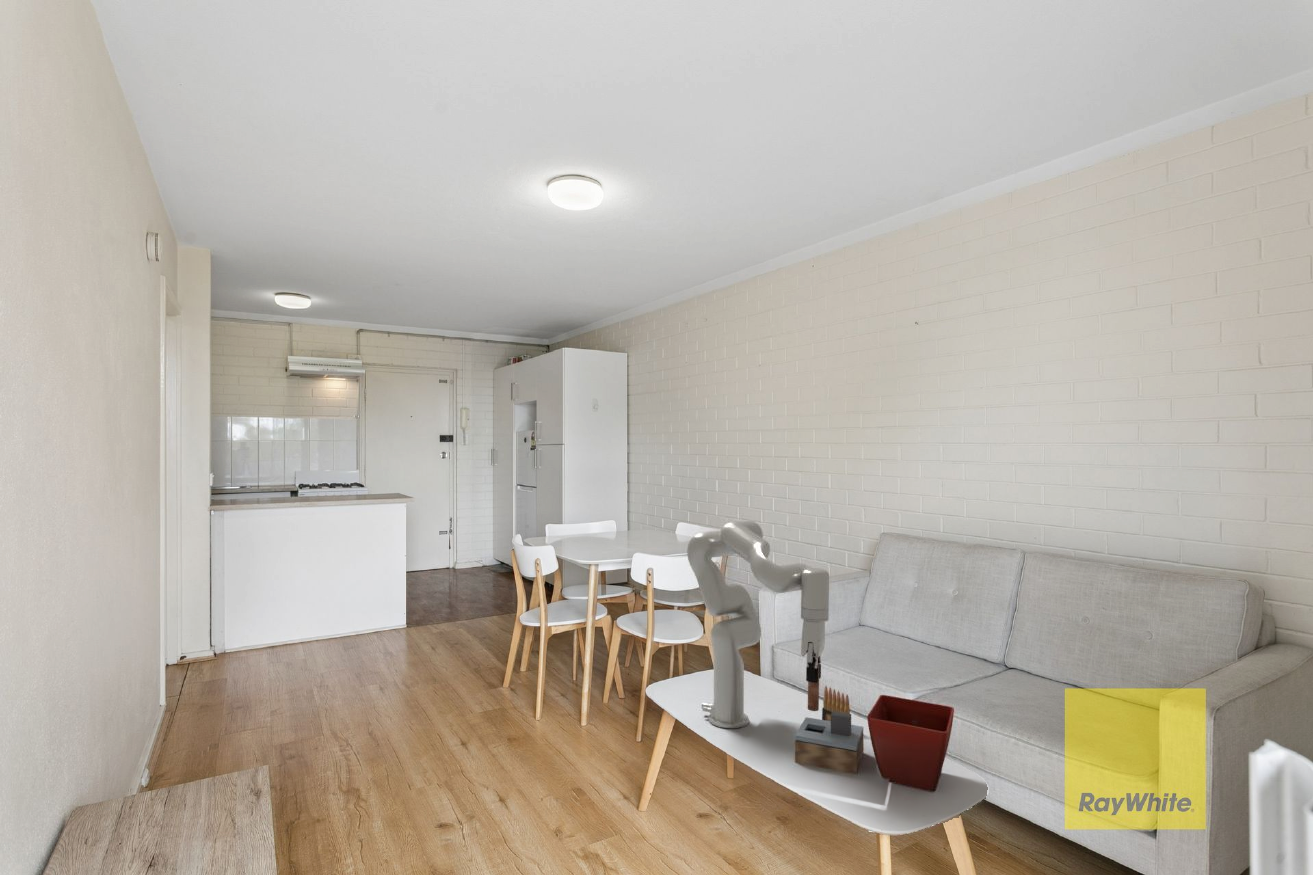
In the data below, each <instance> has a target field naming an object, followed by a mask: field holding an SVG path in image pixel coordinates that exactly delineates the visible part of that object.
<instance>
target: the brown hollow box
mask: <svg viewBox="0 0 1313 875" xmlns="http://www.w3.org/2000/svg"><path fill="white" fill-rule="evenodd" d="M806 731H812V732H818V733H823V732H824V731H823V730H817V729H811V728H808V729H807V730H806ZM864 745H865V744H864V733H863V734H862V737H861V739H860V742H859V745H858V748H857V751H854V750H849V749H843V748H838V747H832V746H827V745H821V744H816V743H810V742H805V741H799V740H794V757H795V758H794V763H796V764H800V765H807V766H812V767H815V768H819V769H820V768H821V769H826V770H831V771H837V772H841V773H847V774H852V775H856V776H857V774H858V771H859V767H860V766H861V763H862V762H861V761H862V760H863V755H864V749H865V748H864Z"/></svg>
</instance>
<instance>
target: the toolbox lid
mask: <svg viewBox="0 0 1313 875" xmlns="http://www.w3.org/2000/svg"><path fill="white" fill-rule="evenodd" d="M808 728H811V729H817V730H823V731H824V732H823V733H818V732H812V731H806V730H807V729H808ZM862 734H863V735H864V726H862V725H854V724H852V713H850V714H849V713H843V712H836V711H832V713H831V721H826V720H822V719H819V718H812V717H807V716H806V717H805V718H804V720H803V721H802V723H801V725H800V727H799V728H798V730H797V731H796V733H795V736H794V739H795V740H799V741H805V742H810V743H816V744H821V745H827V746H832V747H838V748H843V749H849V750H854V751H857V748H858V745H859V742H860V739H861V737H862ZM795 740H794V741H795Z"/></svg>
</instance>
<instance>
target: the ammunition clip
mask: <svg viewBox="0 0 1313 875" xmlns="http://www.w3.org/2000/svg"><path fill="white" fill-rule="evenodd" d="M822 700H823V702H822V704H823V706H822V709H821V720H826V721H831V713H832V711H836V712H843V713H849V714H851V709H850V698H849V695H848V694H846V695H845V694H844V692H841V694H840V690H838V691H837V692H836V689H835V688H834V689H833V690H832V688H831V687H829V688H828V686H827V685H825V686H824V690H823V699H822Z"/></svg>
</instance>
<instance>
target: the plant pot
mask: <svg viewBox="0 0 1313 875" xmlns="http://www.w3.org/2000/svg"><path fill="white" fill-rule="evenodd" d="M954 716H955V708H954V707H953V706H949V705H944V704H938V703H933V702H932V703H931V702H928V701H927V702H926V701H921V700H916V699H915V700H914V699H910V698H904V697H899V696H893V695H886V694H879V696H878V699H877V700H876V701H875V703H874V705H873V706H872V708H871V710H870V711H869V713H868V715H867V716H866V717H867V726H868V731H869V737H870V742H871V746H872V751H873V754H874V758H875V761H876V764H877V767H878V770H879V773H880V776H881V777H882V778H883V779H886V780H888V782H889V783H893V784H897V785H902V786H905V787H909V788H910V787H911V788H914V789H917V790H918V789H919V790H921V791H922V790H923V791H927V792H932V793H933V792H934V793H935V792H936V790H937V788H938V786H939V781H940V777H941V775H942V771H943V767H944V762H945V760H946V756H947V752H948V747H949V744H950V738H951V733H952V729H953V722H954Z"/></svg>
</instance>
